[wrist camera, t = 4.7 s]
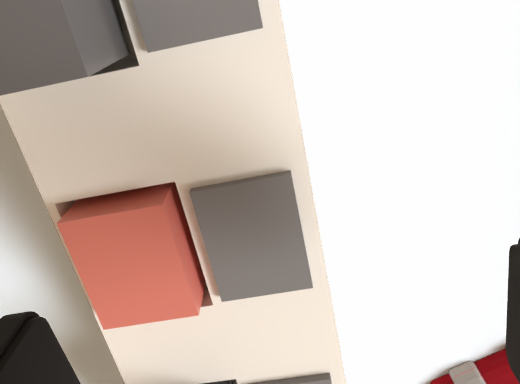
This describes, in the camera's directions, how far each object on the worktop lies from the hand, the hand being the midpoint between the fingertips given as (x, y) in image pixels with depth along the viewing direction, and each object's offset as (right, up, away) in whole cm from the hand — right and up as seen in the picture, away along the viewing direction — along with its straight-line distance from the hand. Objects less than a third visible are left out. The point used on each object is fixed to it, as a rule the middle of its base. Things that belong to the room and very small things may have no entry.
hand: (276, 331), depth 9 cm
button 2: (-4, +2, +8) cm, 9 cm away
